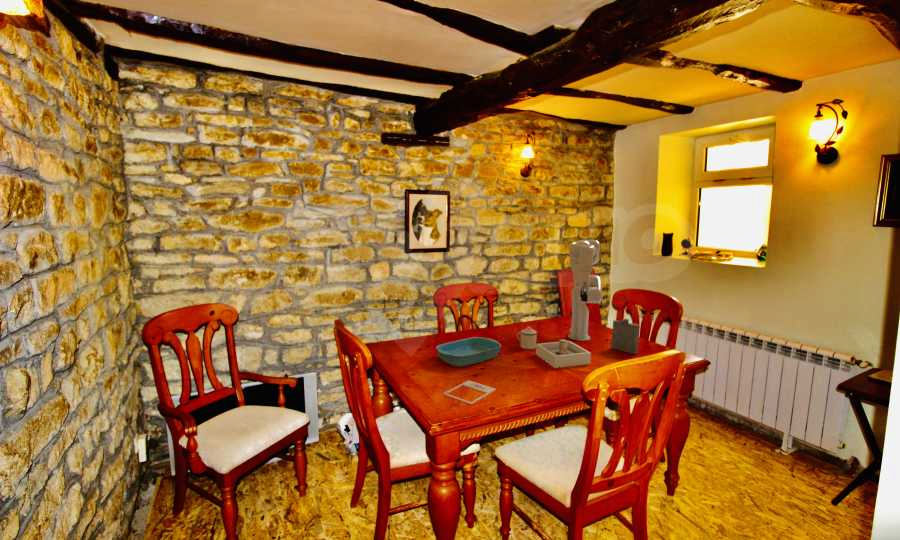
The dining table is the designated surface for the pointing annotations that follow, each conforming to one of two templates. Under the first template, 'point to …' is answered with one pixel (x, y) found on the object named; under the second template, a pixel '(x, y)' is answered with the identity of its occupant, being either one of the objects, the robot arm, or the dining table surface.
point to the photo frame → (473, 386)
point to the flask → (625, 336)
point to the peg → (562, 347)
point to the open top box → (572, 358)
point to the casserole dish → (468, 351)
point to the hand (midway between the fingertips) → (583, 299)
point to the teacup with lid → (528, 338)
